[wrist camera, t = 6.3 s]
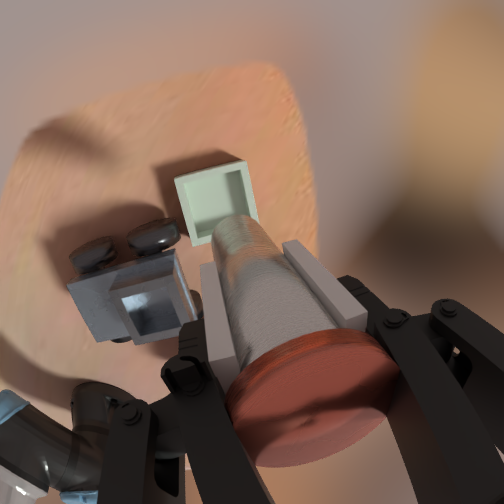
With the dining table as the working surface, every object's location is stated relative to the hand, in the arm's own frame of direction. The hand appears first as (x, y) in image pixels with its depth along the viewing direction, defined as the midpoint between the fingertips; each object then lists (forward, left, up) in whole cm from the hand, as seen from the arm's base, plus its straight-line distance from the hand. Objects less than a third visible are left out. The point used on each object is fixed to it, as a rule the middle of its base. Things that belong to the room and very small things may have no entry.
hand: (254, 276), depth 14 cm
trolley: (-12, -7, -21) cm, 25 cm away
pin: (0, 0, -5) cm, 5 cm away
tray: (0, 0, -21) cm, 21 cm away
